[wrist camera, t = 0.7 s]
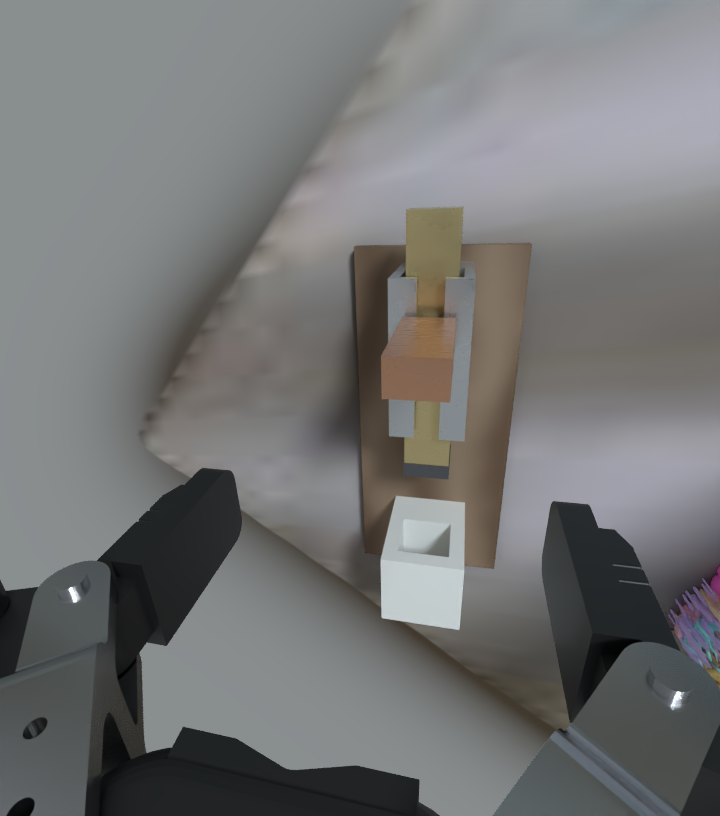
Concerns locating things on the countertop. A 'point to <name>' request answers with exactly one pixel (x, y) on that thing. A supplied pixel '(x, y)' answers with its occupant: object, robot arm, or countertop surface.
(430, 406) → the sliding latch bolt
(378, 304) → the base board
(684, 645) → the candy landscape model
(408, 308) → the sleeve
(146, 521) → the robot arm
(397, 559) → the socket
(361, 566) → the countertop surface
